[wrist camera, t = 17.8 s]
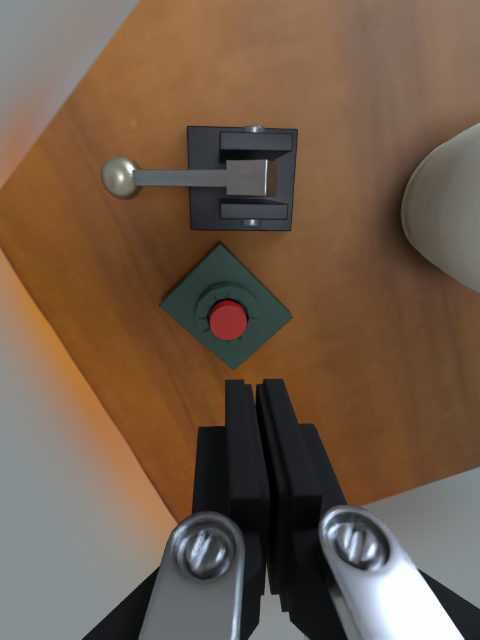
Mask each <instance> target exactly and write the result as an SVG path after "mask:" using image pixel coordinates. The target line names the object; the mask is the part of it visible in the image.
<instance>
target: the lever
mask: <svg viewBox="0 0 480 640" xmlns="http://www.w3.org/2000/svg"><path fill="white" fill-rule="evenodd" d="M277 179H278V162H277V161H273V160H269V159H228V160H227V165H226V169H218V170H141V169H140V167H139V166H138V165H137V163H136V162H135V161H133V160H132V159H130V158H128V157H125V156H113V157H111V158H109V159H108V160H106V161H105V163H104V164H103V166H102V168H101V181H102V184H103V186H104V188H105V189H106V191H107V192H108V193H109V194H111V195H112V196H113V197H115V198H118V199H122V200H127V199H132V198H134V197H135V196H137V195H138V194H139V193H140V191H141V190H142V187H143V186H179V187H226V195H227V196H252V197H274V196H277Z"/></svg>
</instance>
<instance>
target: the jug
mask: <svg viewBox="0 0 480 640" xmlns="http://www.w3.org/2000/svg"><path fill="white" fill-rule="evenodd" d="M401 222H402V227H403V230H404V233H405V235H406V237H407V239H408V240H409V242H410V243H411V245H412V246H413V247H414V248H415V249H416V250H417V251H419V252H420V254H421V255H422V256H423V257H425V258H426V259H427V260H428V261H430V262H431V263H433V264H434V265H435V266H437V267H438V268H439V269H441V270H442V271H443V272H445V273H446V274H448V275H449V276H450V277H452V278H453V279H455V280H456V281H458V282H459V283H461V284H462V285H464V286H466V287H468V288H469V289H471V290H473V291H475V292H478V293H480V123H478V124H476V125H474V126H472V127H471V128H469V129H467V130H465V131H463V132H462V133H460V134H458V135H457V136H455V137H454V138H452V139H451V140H449V141H447V142H445V143H443V144H441V145H440V146H438V147H437V148H436V149H434V150H433V151H432V152H431V153H430V154H429V155H428V156H426V157H425V158H424V159H423V161H422V162H421V163H420V164H419V165H418V167H417V168H416V169H415V171H414V172H413V174H412V176H411V177H410V179H409V181H408V183H407V186H406V188H405V191H404V195H403V199H402V204H401Z"/></svg>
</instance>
